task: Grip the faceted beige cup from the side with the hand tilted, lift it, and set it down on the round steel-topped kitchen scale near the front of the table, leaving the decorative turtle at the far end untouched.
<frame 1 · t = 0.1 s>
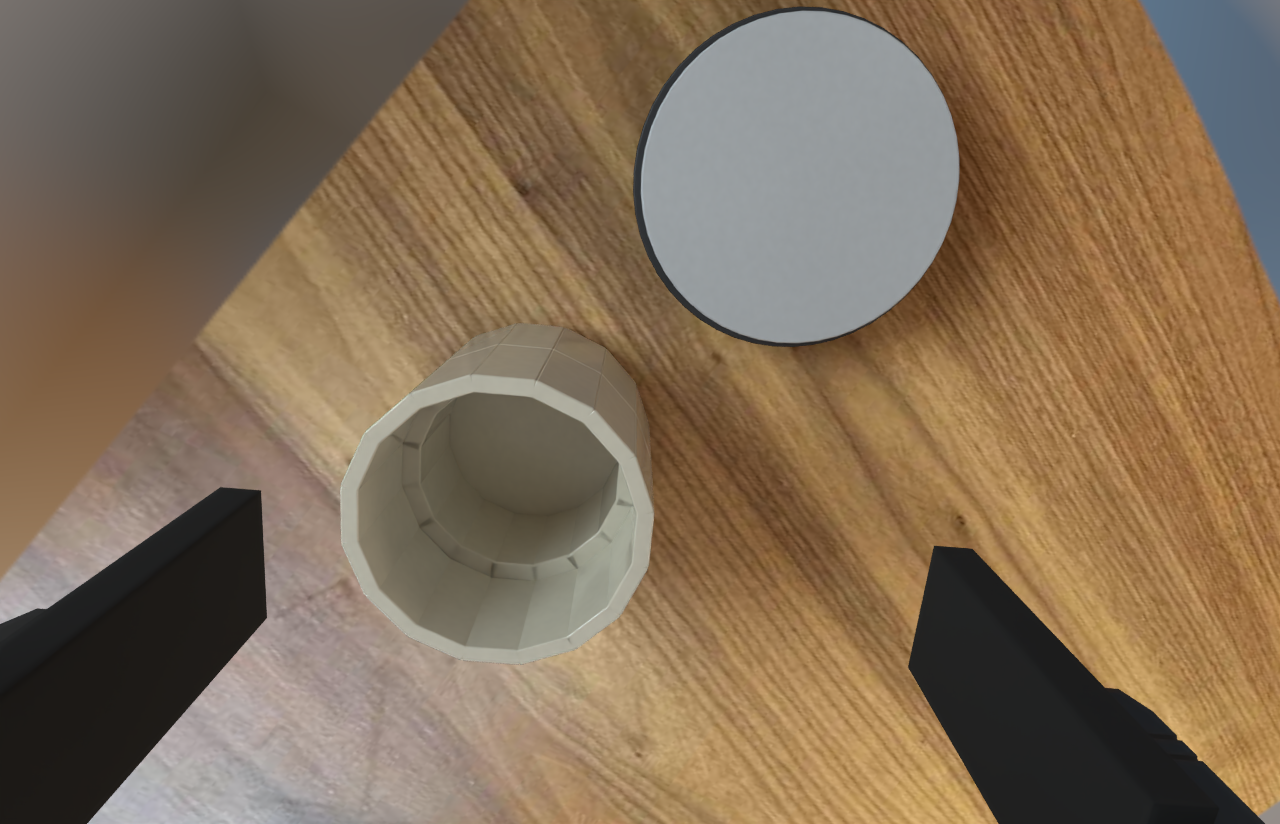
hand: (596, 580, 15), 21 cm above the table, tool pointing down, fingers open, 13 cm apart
faceted beige cup: (537, 430, 36), on the table
scale: (783, 187, 33), on the table
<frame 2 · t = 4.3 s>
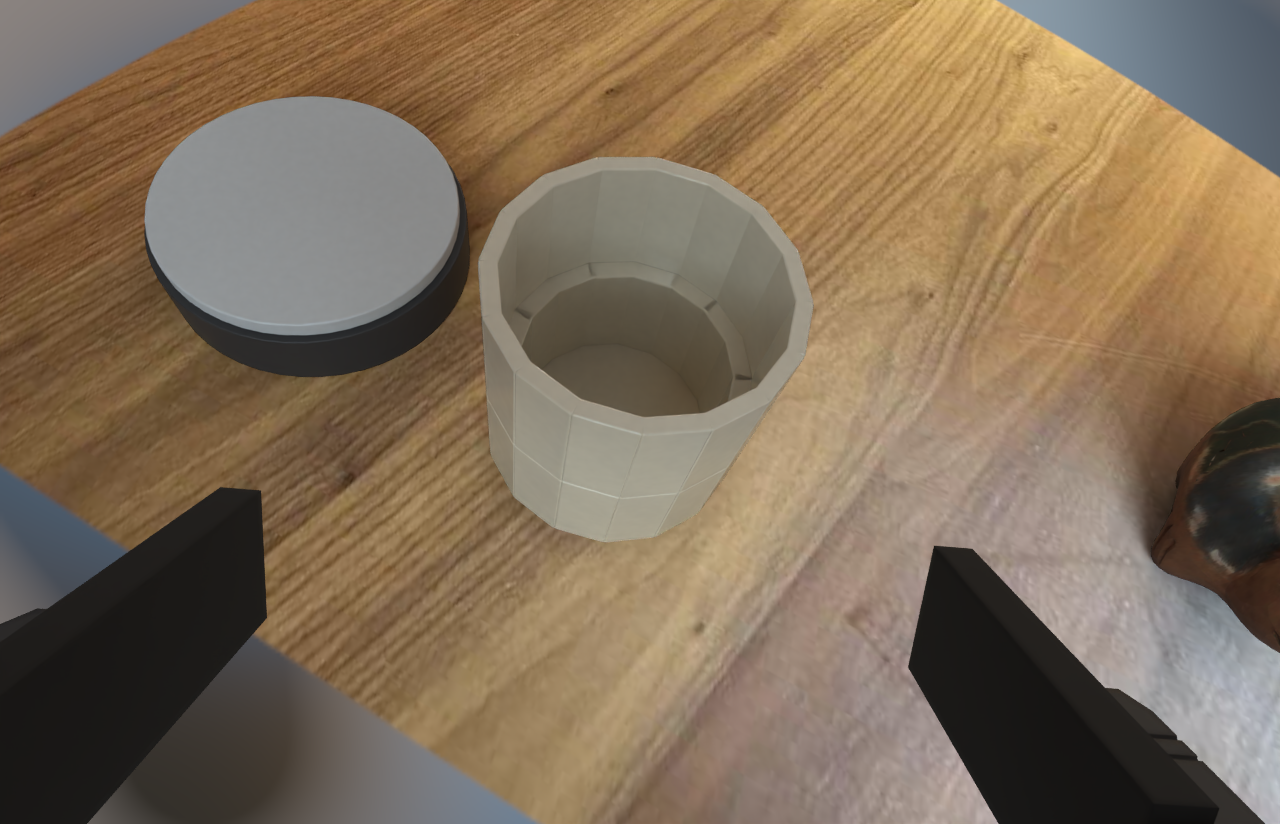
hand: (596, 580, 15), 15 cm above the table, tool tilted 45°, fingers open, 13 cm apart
faceted beige cup: (610, 431, 33), on the table
scale: (326, 254, 35), on the table
decorative turtle: (1222, 544, 36), on the table
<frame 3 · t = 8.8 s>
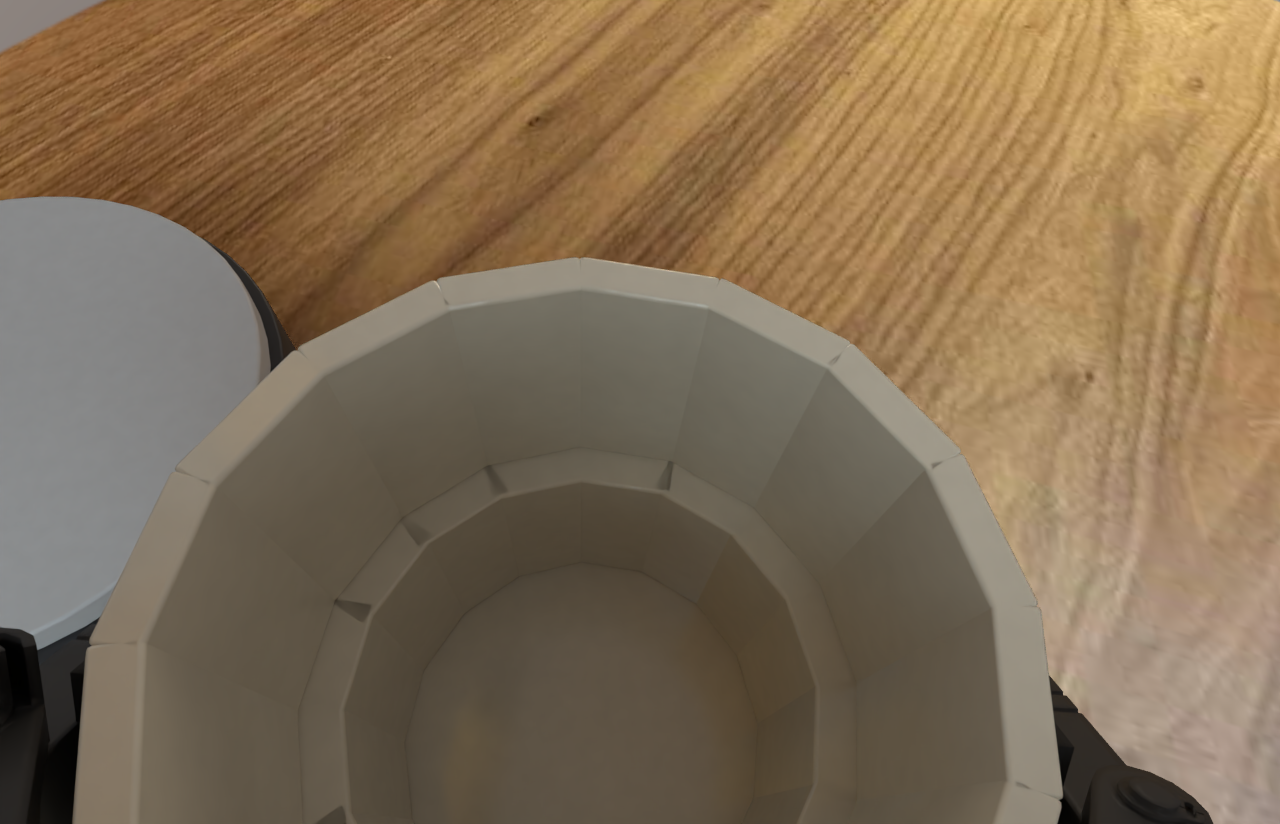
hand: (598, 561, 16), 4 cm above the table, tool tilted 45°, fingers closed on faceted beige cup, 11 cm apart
faceted beige cup: (584, 737, 18), on the table, touching gripper
scale: (65, 463, 20), on the table
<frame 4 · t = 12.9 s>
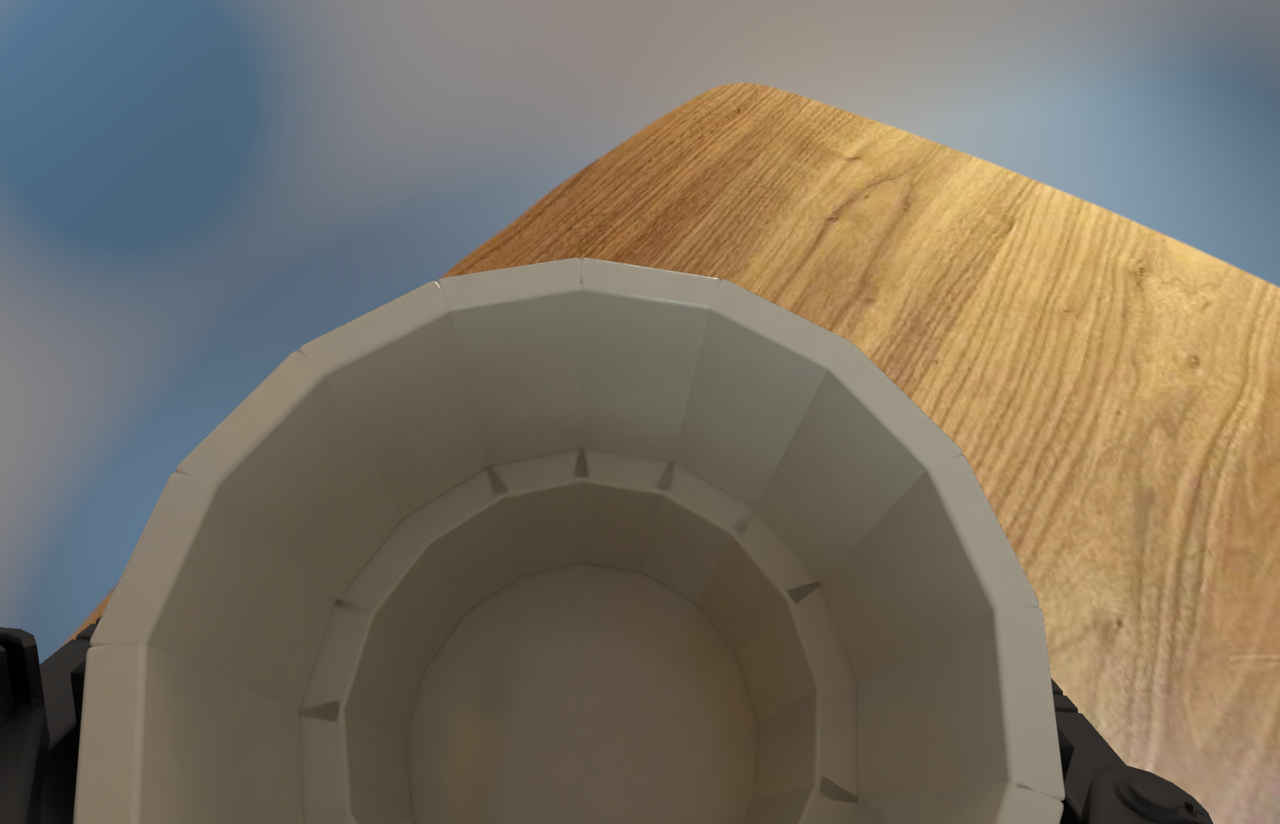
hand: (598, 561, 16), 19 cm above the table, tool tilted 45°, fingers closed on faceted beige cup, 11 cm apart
faceted beige cup: (585, 737, 18), point 14 cm above the table, touching gripper
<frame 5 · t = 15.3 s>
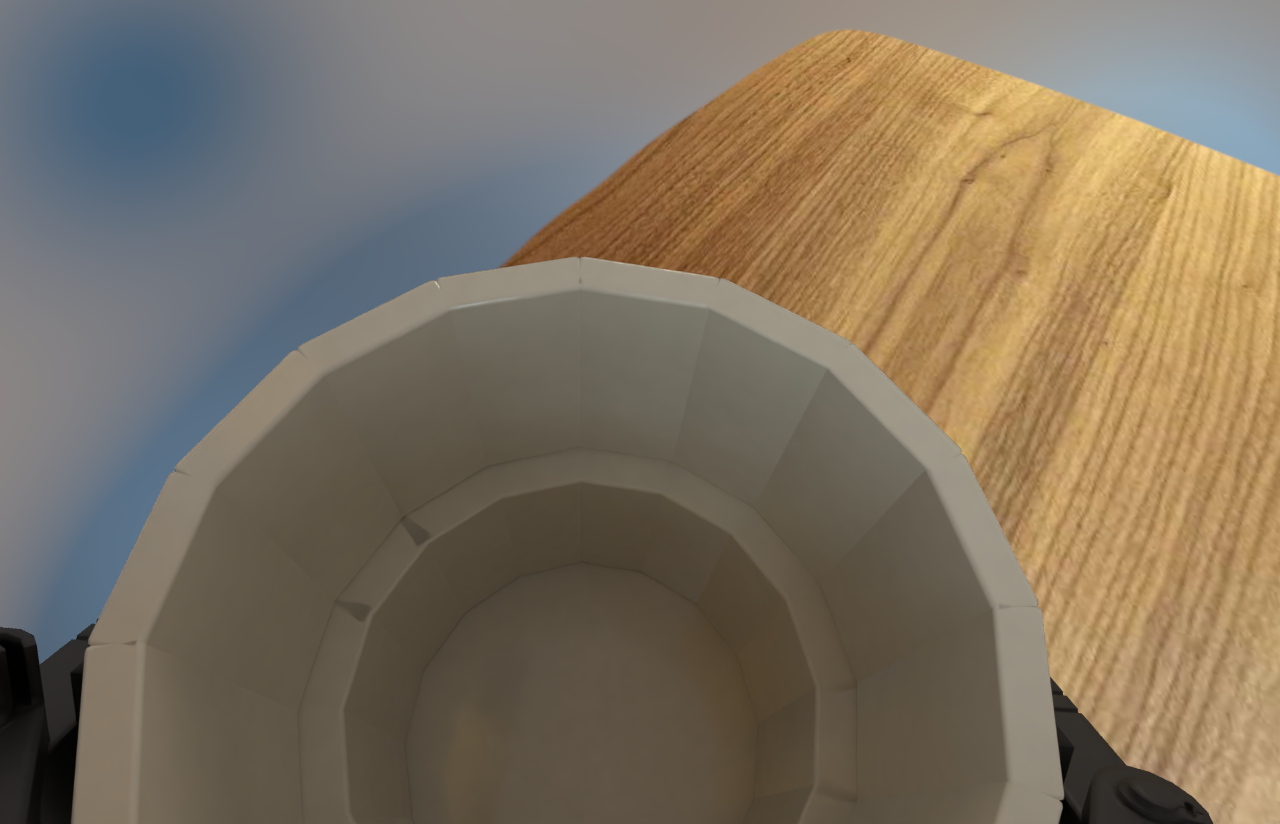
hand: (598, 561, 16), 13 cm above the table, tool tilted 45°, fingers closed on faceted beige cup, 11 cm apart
faceted beige cup: (584, 737, 18), point 9 cm above the table, touching gripper
when the fingers open (8 cm above the table, at t = 17.3 s): faceted beige cup stays where it is, resting on scale.
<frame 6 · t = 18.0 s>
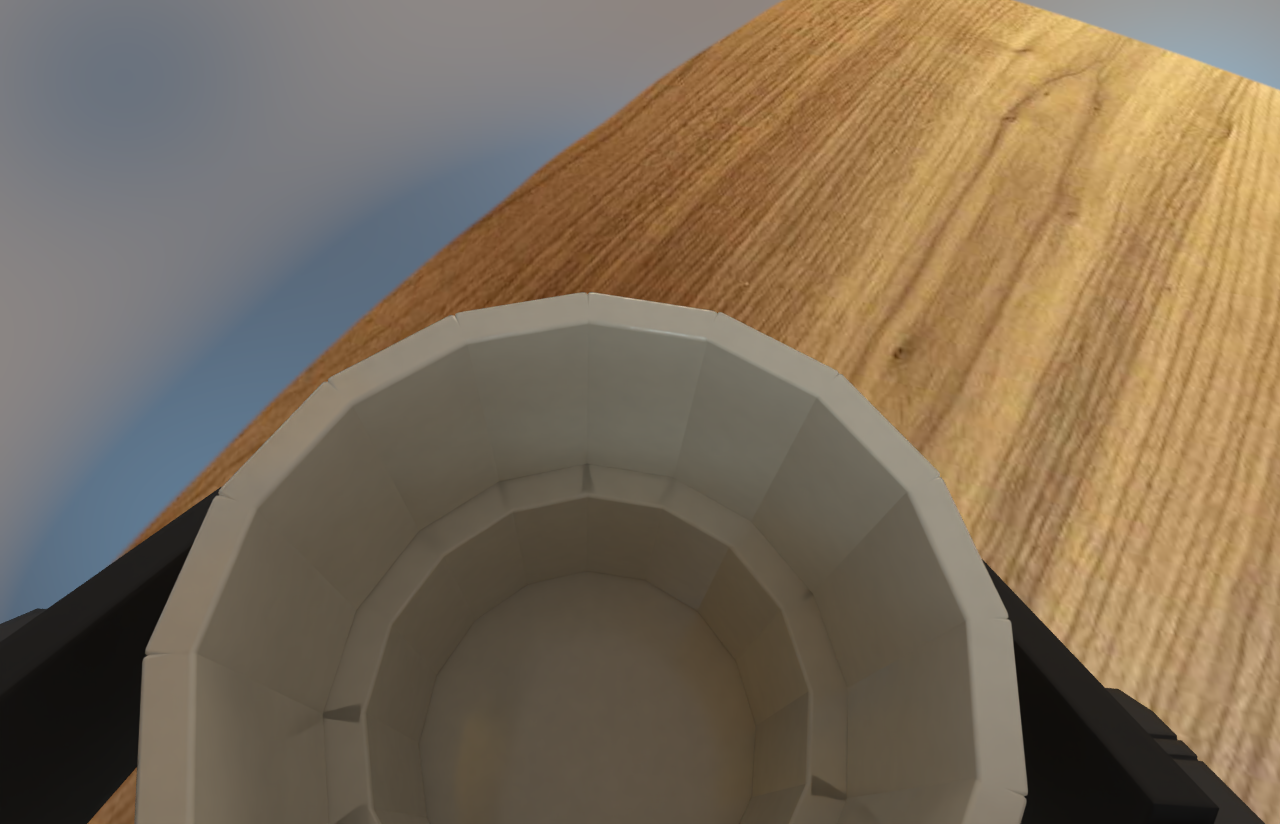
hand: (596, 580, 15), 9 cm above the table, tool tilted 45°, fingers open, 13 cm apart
faceted beige cup: (590, 738, 19), point 4 cm above the table, touching scale
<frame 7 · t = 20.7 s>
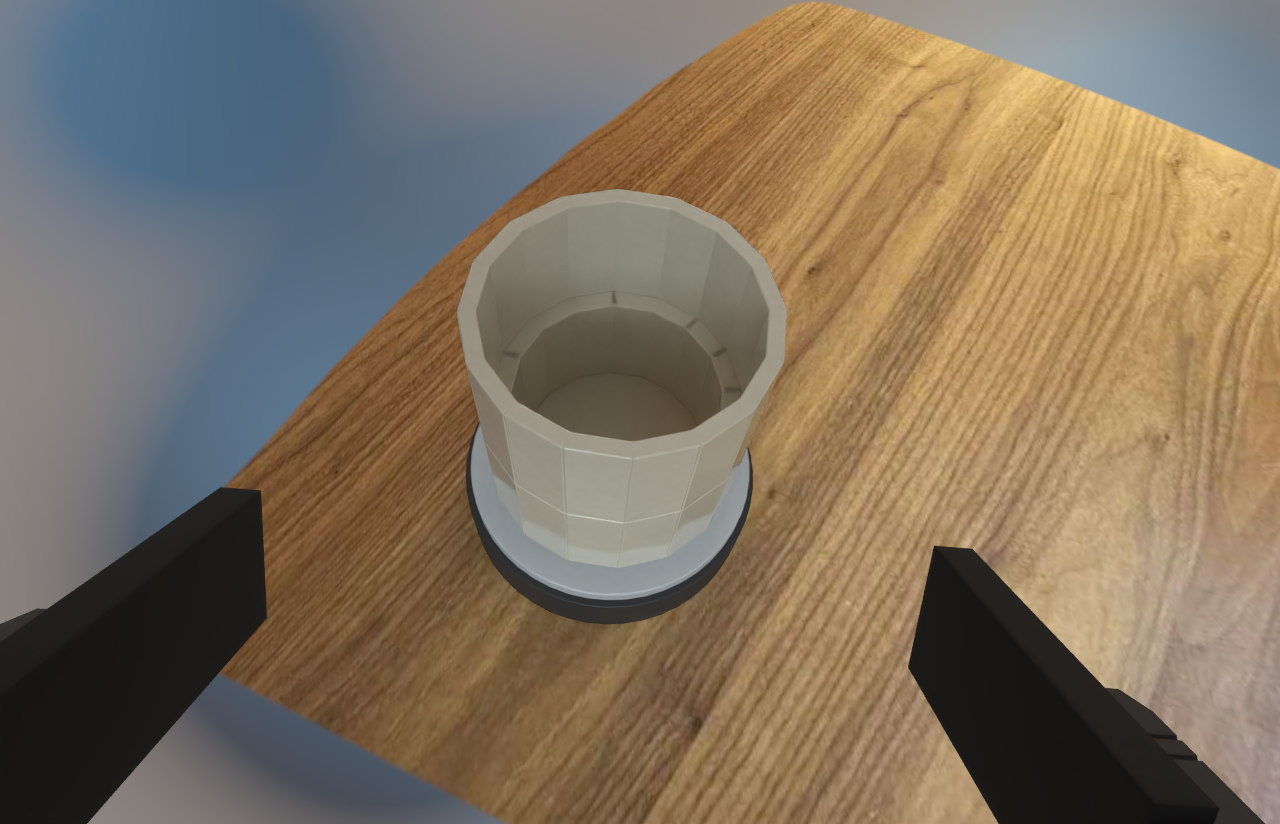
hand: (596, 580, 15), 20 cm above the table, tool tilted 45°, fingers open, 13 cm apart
faceted beige cup: (612, 458, 34), point 4 cm above the table, touching scale
scale: (609, 489, 37), on the table
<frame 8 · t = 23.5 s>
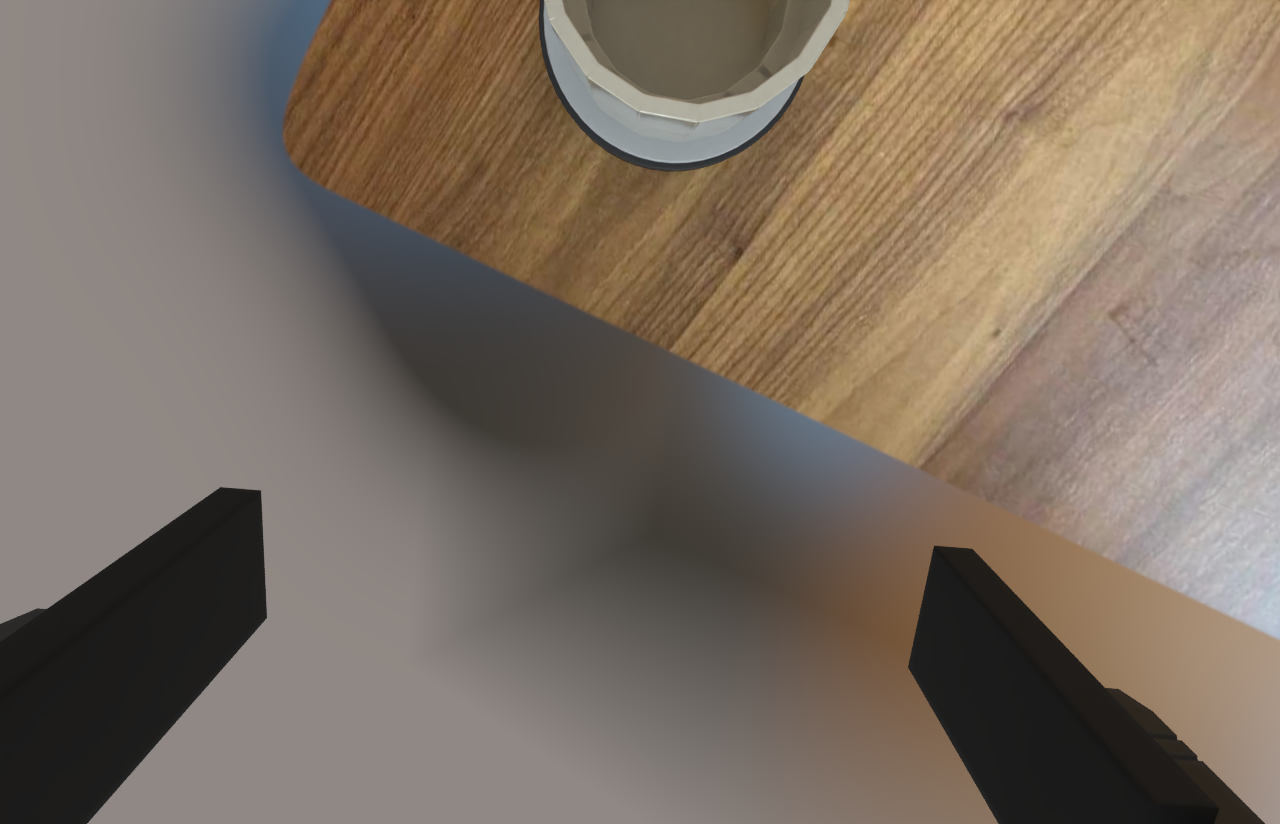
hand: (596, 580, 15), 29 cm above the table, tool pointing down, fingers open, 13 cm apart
faceted beige cup: (678, 21, 35), point 4 cm above the table, touching scale
scale: (674, 36, 39), on the table
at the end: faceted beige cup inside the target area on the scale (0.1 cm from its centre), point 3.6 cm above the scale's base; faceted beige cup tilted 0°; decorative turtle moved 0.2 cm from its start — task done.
